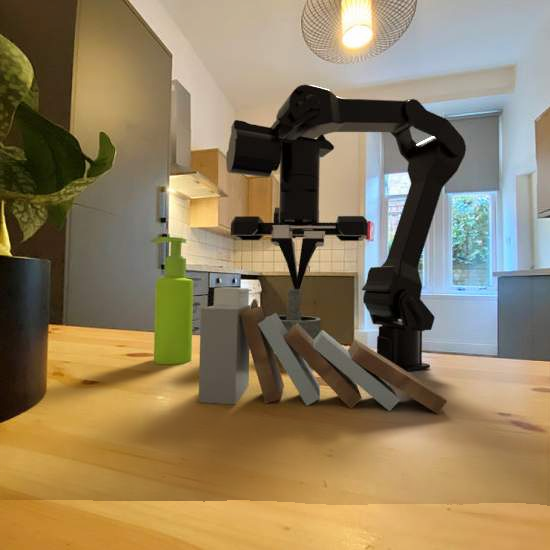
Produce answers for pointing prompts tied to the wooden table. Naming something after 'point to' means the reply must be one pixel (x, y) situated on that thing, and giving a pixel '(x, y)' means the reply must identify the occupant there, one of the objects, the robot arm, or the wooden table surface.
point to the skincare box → (231, 296)
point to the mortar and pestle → (299, 315)
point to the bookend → (223, 354)
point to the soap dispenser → (173, 308)
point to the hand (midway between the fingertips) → (297, 289)
